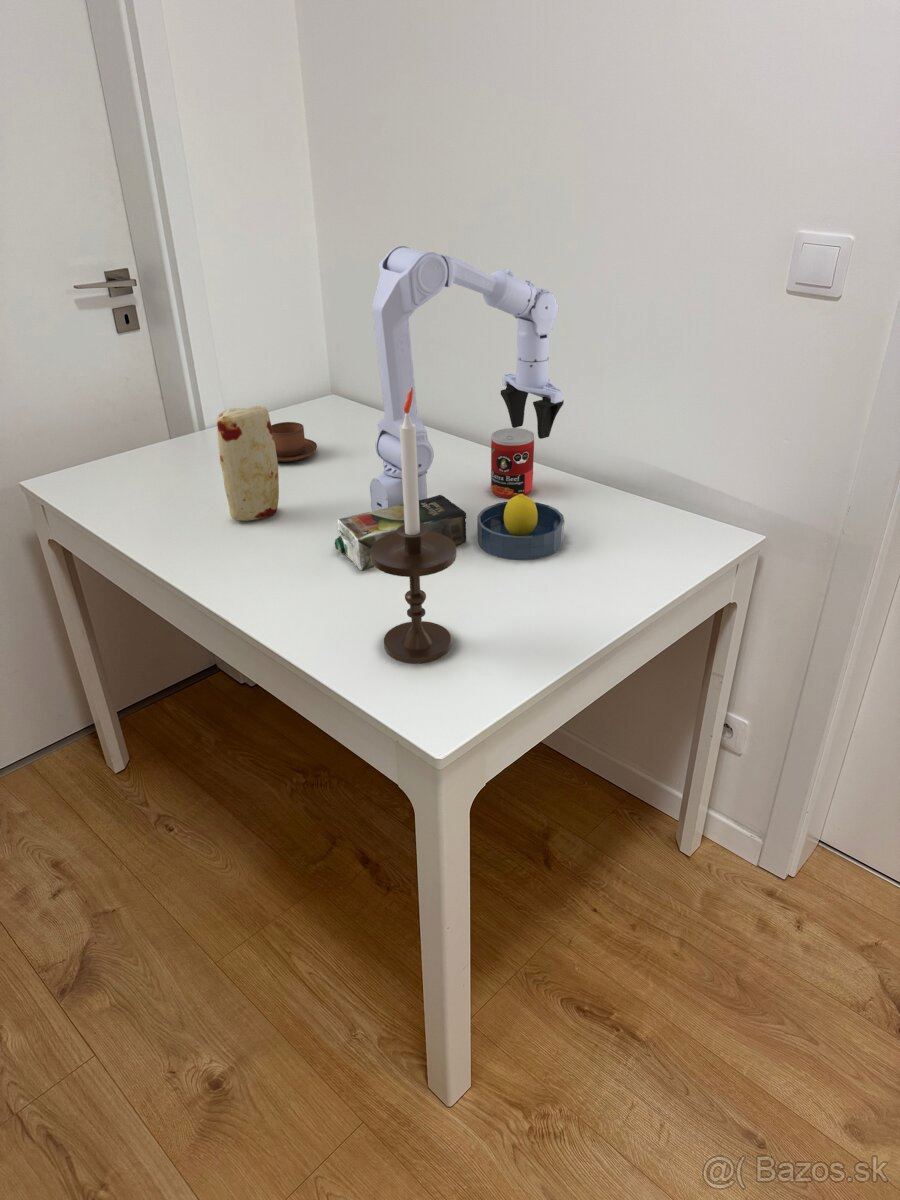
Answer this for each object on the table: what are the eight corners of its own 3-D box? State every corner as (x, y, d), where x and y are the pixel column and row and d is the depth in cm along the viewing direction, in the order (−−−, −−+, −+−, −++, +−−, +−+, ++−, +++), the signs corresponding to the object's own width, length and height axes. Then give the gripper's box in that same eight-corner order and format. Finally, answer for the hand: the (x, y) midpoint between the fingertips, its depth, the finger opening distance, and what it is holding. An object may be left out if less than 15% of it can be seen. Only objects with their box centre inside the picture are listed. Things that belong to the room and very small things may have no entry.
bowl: (513, 568, 132) (514, 545, 130) (460, 536, 142) (460, 515, 140) (580, 543, 139) (582, 521, 137) (525, 515, 149) (526, 494, 147)
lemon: (536, 531, 142) (538, 487, 138) (536, 546, 138) (538, 501, 133) (504, 531, 143) (504, 487, 139) (502, 545, 138) (503, 500, 134)
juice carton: (355, 574, 131) (352, 538, 128) (332, 549, 139) (329, 515, 136) (468, 545, 139) (468, 511, 136) (440, 524, 147) (439, 491, 144)
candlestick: (451, 619, 119) (446, 372, 101) (464, 662, 110) (460, 398, 92) (374, 627, 118) (355, 377, 100) (380, 671, 108) (361, 404, 91)
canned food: (484, 495, 157) (484, 438, 151) (502, 480, 163) (502, 425, 157) (521, 502, 154) (523, 444, 148) (538, 486, 160) (541, 431, 154)
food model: (236, 529, 146) (218, 417, 136) (224, 516, 151) (205, 406, 141) (289, 516, 150) (275, 406, 140) (275, 503, 155) (261, 396, 145)
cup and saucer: (253, 451, 179) (249, 423, 176) (308, 442, 183) (305, 415, 180) (268, 470, 170) (264, 441, 166) (325, 460, 174) (322, 431, 171)
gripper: (577, 362, 147) (573, 437, 154) (523, 346, 157) (521, 417, 164) (546, 369, 143) (543, 445, 150) (493, 352, 153) (493, 425, 160)
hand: (530, 431), depth 157 cm, fingers open, 7 cm apart
